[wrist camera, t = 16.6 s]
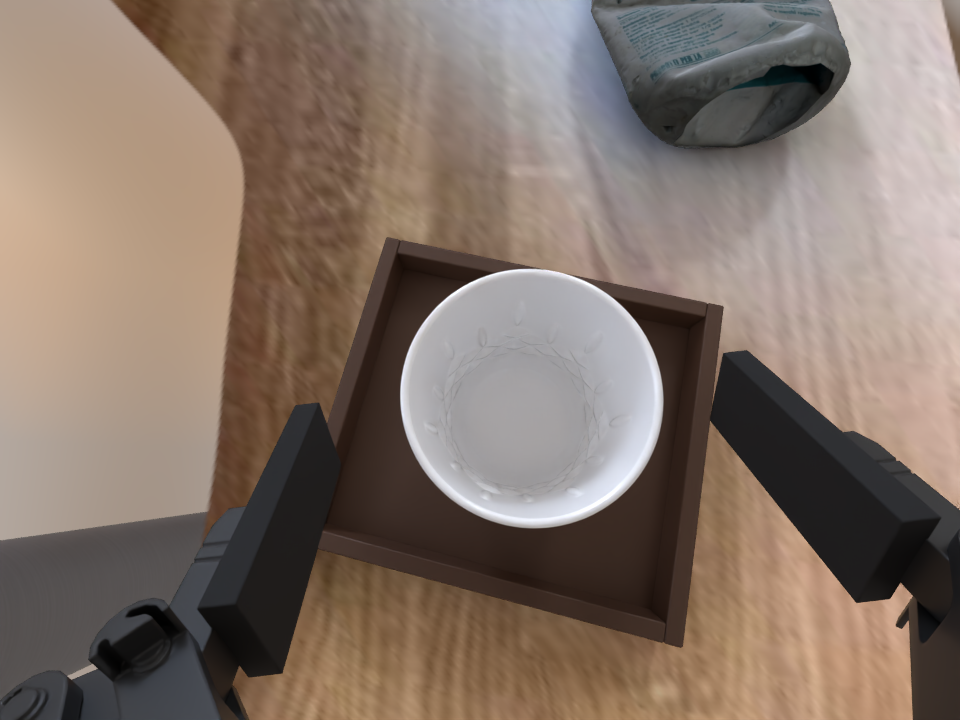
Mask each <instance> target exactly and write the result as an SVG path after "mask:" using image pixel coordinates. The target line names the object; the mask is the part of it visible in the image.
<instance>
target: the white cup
mask: <svg viewBox="0 0 960 720" xmlns="http://www.w3.org/2000/svg"><path fill="white" fill-rule="evenodd" d="M400 404H401V414H402V420H403V425H404V429H405V432H406V435H407V438H408V441H409V444H410V446H411V449H412V451H413V453H414V455H415V457H416V459H417V460H418V462H419V464H420V465H421V467H422V468H423V470H424V471H425V473H426V474H427V475H428V477H429V478H430V479H431V480H432V482H433V483H434V484H435V485H436V486H437V487H438V488H439V489H440V490H441V491H442V492H443V493H444V494H445V495H447V496H448V497H449V498H450V499H451V500H453V501H454V502H455V503H457V504H458V505H460V506H461V507H463V508H464V509H466V510H468V511H470V512H471V513H473V514H475V515H477V516H480V517H482V518H484V519H487V520H490V521H492V522H496V523H499V524H503V525H507V526H513V527H520V528H549V527H557V526H562V525H566V524H570V523H573V522H577V521H579V520H582V519H585V518H587V517H589V516H591V515H593V514H595V513H597V512H599V511H601V510H602V509H604V508H606V507H607V506H609V505H610V504H612V503H613V502H614V501H615V500H617V499H618V498H619V497H620V496H621V495H623V494H624V493H625V492H626V491H627V490H628V489H629V488H630V487H631V485H632V484H633V483H634V482H635V481H636V479H637V478H638V477H639V475H640V474H641V473H642V471H643V470H644V468H645V466H646V465H647V463H648V461H649V459H650V457H651V455H652V453H653V451H654V448H655V446H656V443H657V440H658V436H659V433H660V428H661V423H662V416H663V386H662V379H661V374H660V370H659V366H658V363H657V360H656V357H655V354H654V352H653V350H652V347H651V345H650V343H649V341H648V339H647V338H646V336H645V334H644V332H643V331H642V329H641V328H640V326H639V325H638V324H637V322H636V321H635V320H634V319H633V317H632V316H631V315H630V314H629V313H628V312H627V311H626V310H625V309H624V308H623V307H622V306H621V305H620V304H619V303H618V302H617V301H616V300H614V299H613V298H612V297H611V296H609V295H608V294H607V293H605V292H604V291H602V290H600V289H599V288H597V287H595V286H594V285H592V284H590V283H588V282H586V281H584V280H581V279H579V278H576V277H573V276H570V275H567V274H564V273H560V272H555V271H549V270H541V269H517V270H508V271H503V272H498V273H494V274H491V275H488V276H485V277H482V278H479V279H477V280H475V281H473V282H471V283H469V284H467V285H465V286H463V287H461V288H460V289H458V290H457V291H455V292H454V293H452V294H451V295H450V296H448V297H447V298H446V299H445V300H444V301H442V302H441V303H440V304H439V305H438V306H437V307H436V308H435V309H434V310H433V311H432V313H431V314H430V315H429V316H428V317H427V319H426V320H425V321H424V323H423V324H422V326H421V327H420V329H419V330H418V332H417V334H416V335H415V337H414V339H413V341H412V343H411V346H410V348H409V351H408V353H407V356H406V360H405V363H404V367H403V372H402V378H401V387H400Z"/></svg>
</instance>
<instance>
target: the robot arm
mask: <svg viewBox="0 0 960 720" xmlns="http://www.w3.org/2000/svg"><path fill="white" fill-rule="evenodd" d="M710 421H711V422H712V424H713V425H714V426H715V427H716V429H717V430H718V431H719V432H720V434H721V435H722V436H723V437H724V439H725V440H726V441H727V442H728V443H729V445H730V446H731V447H732V448H733V450H734V451H735V452H736V453H737V455H738V456H739V457H740V458H741V460H742V461H743V462H744V463H745V465H746V466H747V467H748V468H749V470H750V471H751V472H752V473H753V475H754V476H755V477H756V478H757V480H758V481H759V482H760V483H761V485H762V486H763V487H764V488H765V490H766V491H767V492H768V493H769V495H770V496H771V497H772V498H773V500H774V501H775V502H776V503H777V505H778V506H779V507H780V508H781V510H782V511H783V512H784V513H785V515H786V516H787V517H788V518H789V519H790V521H791V522H792V523H793V524H794V526H795V527H796V528H797V529H798V531H799V532H800V533H801V534H802V536H803V537H804V538H805V539H806V541H807V542H808V543H809V544H810V546H811V547H812V548H813V549H814V551H815V552H816V553H817V554H818V556H819V557H820V558H821V559H822V561H823V562H824V563H825V564H826V566H827V567H828V568H829V569H830V571H831V572H832V573H833V574H834V576H835V577H836V578H837V579H838V581H839V582H840V583H841V584H842V586H843V587H844V588H845V589H846V591H847V592H848V593H849V594H850V595H851V597H852V598H853V599H854V600H855V602H856V603H861V602H869V601H877V600H885V599H890V598H891V597H892V595H893V593H894V592H895V590H896V589H897V587H898V586H899V584H900V582H901V583H902V584H903V585H904V587H905V588H906V589H907V590H908V591H909V592H910V593H911V594H912V595H913V597H912V599H911V600H910V602H909V603H908V605H907V606H906V607H905V609H904V610H903V612H902V613H901V615H900V616H899V618H898V620H897V623H896V627H899V628H901V629H902V628H903V627H904V625H905V624H906V622H907V621H908V620H909V632H910V658H911V683H912V709H913V720H960V510H959V509H958V508H956V507H955V506H954V505H953V504H952V503H950V502H949V501H948V500H947V499H945V498H944V497H943V496H942V495H940V494H939V493H938V492H937V491H936V490H934V489H933V488H932V487H931V486H929V485H928V484H927V483H926V482H925V481H923V480H922V479H921V478H920V477H918V476H917V475H916V474H915V473H914V474H912V473H911V470H910V469H909V468H907V467H906V466H905V465H904V464H902V463H901V462H900V461H896V458H895V457H894V456H893V455H891V454H890V453H889V452H888V451H886V450H885V449H884V448H883V447H882V446H880V445H879V444H878V443H876V442H874V441H872V440H870V439H868V438H866V437H864V436H862V435H860V434H859V433H857V432H855V431H850V432H842V431H841V430H839V429H838V428H837V427H836V426H835V425H834V424H832V423H831V422H830V421H829V420H828V419H827V418H825V417H824V416H823V415H822V414H821V413H820V412H818V411H817V410H816V409H815V408H814V407H813V406H811V405H810V404H809V403H808V402H807V401H806V400H804V399H803V398H802V397H801V396H800V395H799V394H797V393H796V392H795V391H794V390H793V389H792V388H790V387H789V386H788V385H787V384H786V383H785V382H783V381H782V380H781V379H780V378H779V377H778V376H776V375H775V374H774V373H773V372H772V371H771V370H769V369H768V368H767V367H766V366H765V365H764V364H762V363H761V362H760V361H759V360H758V359H757V358H755V357H754V356H753V355H752V354H751V353H750V352H748V351H747V350H744V351H736V352H728V353H723V357H722V362H721V367H720V372H719V377H718V381H717V386H716V391H715V396H714V401H713V406H712V411H711V416H710ZM340 468H341V462H340V459H339V457H338V454H337V451H336V448H335V446H334V443H333V440H332V437H331V435H330V432H329V429H328V426H327V423H326V421H325V418H324V415H323V412H322V410H321V407H320V404H319V403H311V404H303V405H295V407H294V409H293V411H292V413H291V415H290V417H289V420H288V422H287V424H286V426H285V428H284V430H283V432H282V434H281V436H280V438H279V440H278V442H277V444H276V446H275V448H274V450H273V452H272V455H271V457H270V459H269V461H268V463H267V465H266V467H265V469H264V471H263V473H262V475H261V477H260V479H259V481H258V483H257V485H256V487H255V490H254V492H253V494H252V496H251V498H250V500H249V502H248V504H247V506H246V507H238V508H230V509H228V510H227V511H226V512H225V513H224V514H223V515H222V516H221V517H220V518H219V519H218V520H217V521H216V522H215V524H214V525H213V526H212V527H211V529H210V531H209V533H208V535H207V537H206V539H205V540H204V542H203V547H202V548H200V550H199V551H198V553H197V555H196V557H195V559H194V560H195V562H194V563H192V564H191V566H190V568H189V570H188V572H187V574H186V575H185V577H184V579H183V581H182V583H181V585H180V587H179V588H178V590H177V592H176V594H175V596H174V598H173V599H172V601H171V603H170V605H169V606H168V605H167V604H166V602H165V601H164V600H161V599H156V598H150V599H146V600H141V601H138V602H136V603H134V604H132V605H130V606H128V607H126V608H124V609H123V610H122V611H120V612H119V613H118V614H117V615H115V616H114V617H113V618H111V619H110V620H109V621H108V622H107V623H106V625H105V626H104V627H103V628H102V629H101V630H100V631H99V632H98V634H97V636H96V637H95V639H94V641H93V643H92V645H91V647H90V652H89V659H88V660H89V661H90V662H91V663H92V664H94V665H95V666H96V667H97V668H98V669H96V670H94V671H92V672H89V673H87V674H85V675H82V676H80V677H77V678H75V679H73V680H71V679H69V678H68V677H67V676H66V675H65V674H64V673H62V672H61V671H46V672H43V673H40V674H37V675H35V676H32V677H31V678H29V679H28V680H26V681H24V682H23V683H21V684H19V685H18V686H16V687H15V688H14V689H13V690H12V691H10V692H9V693H8V694H7V695H6V696H5V697H4V698H2V699H1V700H0V720H249V718H248V715H247V713H246V711H245V708H244V706H243V703H242V701H241V699H240V696H239V694H238V692H237V689H236V688H235V687H234V686H233V685H232V684H233V681H234V678H235V675H236V672H237V670H238V667H239V665H240V667H241V668H242V669H243V671H244V672H245V673H246V674H247V676H248V677H257V676H265V675H273V674H281V673H283V669H284V666H285V662H286V659H287V655H288V652H289V648H290V645H291V641H292V638H293V634H294V630H295V627H296V623H297V620H298V616H299V613H300V609H301V606H302V602H303V599H304V595H305V592H306V588H307V585H308V581H309V578H310V574H311V571H312V567H313V564H314V560H315V557H316V553H317V549H318V546H319V542H320V539H321V535H322V532H323V528H324V525H325V521H326V518H327V514H328V511H329V507H330V504H331V500H332V497H333V493H334V490H335V486H336V483H337V479H338V475H339V472H340Z"/></svg>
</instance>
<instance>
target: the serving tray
mask: <svg viewBox="0 0 960 720" xmlns="http://www.w3.org/2000/svg"><path fill="white" fill-rule="evenodd" d="M517 269H539V268H535V267H530V266H525V265H520V264H515V263H510V262H505V261H500V260H495V259H491V258H486V257H481V256H476V255H471V254H466V253H461V252H456V251H452V250H447V249H442V248H437V247H432V246H427V245H422V244H417V243H413V242H408V241H403V240H401V241H400V240H398V239H393V238H388V237H387V238H386V240H385V244H384V247H383V250H382V253H381V256H380V259H379V262H378V266H377V269H376V272H375V275H374V278H373V281H372V284H371V288H370V291H369V294H368V297H367V300H366V303H365V306H364V310H363V313H362V316H361V319H360V322H359V325H358V328H357V332H356V335H355V338H354V341H353V344H352V347H351V350H350V354H349V357H348V360H347V363H346V366H345V369H344V372H343V376H342V379H341V382H340V385H339V388H338V391H337V394H336V397H335V401H334V404H333V407H332V410H331V413H330V416H329V419H328V423H327V426H328V429H329V432H330V435H331V437H332V440H333V443H334V446H335V448H336V451H337V454H338V457H339V459H340V462H341V468H340V472H339V475H338V479H337V483H336V486H335V490H334V493H333V497H332V500H331V504H330V507H329V511H328V514H327V518H326V521H325V525H324V528H323V532H322V535H321V539H320V542H319V546H318V549H320V550H323V551H327V552H331V553H334V554H338V555H342V556H345V557H349V558H353V559H356V560H360V561H364V562H367V563H371V564H375V565H378V566H382V567H386V568H389V569H393V570H397V571H401V572H404V573H408V574H412V575H415V576H419V577H423V578H426V579H430V580H434V581H437V582H441V583H445V584H448V585H452V586H456V587H459V588H463V589H467V590H470V591H474V592H478V593H481V594H485V595H489V596H492V597H496V598H500V599H503V600H507V601H511V602H514V603H518V604H522V605H525V606H529V607H533V608H536V609H540V610H544V611H547V612H551V613H555V614H558V615H562V616H566V617H569V618H573V619H577V620H580V621H584V622H588V623H591V624H595V625H599V626H602V627H606V628H610V629H613V630H617V631H621V632H624V633H628V634H632V635H635V636H639V637H643V638H646V639H650V640H654V641H657V642H661V643H662V642H664V643H665V644H669V645H672V646H676V647H680V648H681V647H683V640H684V632H685V624H686V615H687V607H688V599H689V590H690V582H691V574H692V565H693V557H694V549H695V540H696V532H697V523H698V515H699V507H700V498H701V490H702V482H703V473H704V465H705V457H706V448H707V440H708V432H709V423H710V415H711V407H712V398H713V390H714V382H715V373H716V365H717V357H718V348H719V340H720V332H721V323H722V315H723V306H720V305H715V304H710V303H708V304H707V303H705V302H700V301H696V300H691V299H686V298H681V297H676V296H671V295H666V294H661V293H656V292H652V291H647V290H642V289H637V288H632V287H627V286H622V285H617V284H613V283H608V282H603V281H598V280H593V279H588V278H583V277H578V276H574V275H570V276H573V277H576V278H579V279H581V280H584V281H586V282H588V283H590V284H592V285H594V286H595V287H597V288H599V289H600V290H602V291H604V292H605V293H607V294H608V295H609V296H611V297H612V298H613V299H614V300H616V301H617V302H618V303H619V304H620V305H621V306H622V307H623V308H624V309H625V310H626V311H627V312H628V313H629V314H630V315H631V316H632V317H633V319H634V320H635V321H636V322H637V324H638V325H639V326H640V328H641V329H642V331H643V332H644V334H645V336H646V338H647V339H648V341H649V343H650V345H651V347H652V350H653V352H654V354H655V357H656V360H657V363H658V366H659V370H660V374H661V379H662V386H663V416H662V423H661V428H660V433H659V436H658V440H657V443H656V446H655V448H654V451H653V453H652V455H651V457H650V459H649V461H648V463H647V465H646V466H645V468H644V470H643V471H642V473H641V474H640V475H639V477H638V478H637V479H636V481H635V482H634V483H633V484H632V485H631V487H630V488H629V489H628V490H627V491H626V492H625V493H624V494H623V495H621V496H620V497H619V498H618V499H617V500H615V501H614V502H613V503H612V504H610V505H609V506H607V507H606V508H604V509H602V510H601V511H599V512H597V513H595V514H593V515H591V516H589V517H587V518H585V519H582V520H579V521H577V522H573V523H570V524H566V525H562V526H557V527H549V528H520V527H513V526H507V525H503V524H499V523H496V522H492V521H490V520H487V519H484V518H482V517H480V516H477V515H475V514H473V513H471V512H470V511H468V510H466V509H464V508H463V507H461V506H460V505H458V504H457V503H455V502H454V501H453V500H451V499H450V498H449V497H448V496H447V495H445V494H444V493H443V492H442V491H441V490H440V489H439V488H438V487H437V486H436V485H435V484H434V483H433V482H432V480H431V479H430V478H429V477H428V475H427V474H426V473H425V471H424V470H423V468H422V467H421V465H420V464H419V462H418V460H417V459H416V457H415V455H414V453H413V451H412V449H411V446H410V444H409V441H408V438H407V435H406V432H405V429H404V425H403V420H402V414H401V404H400V387H401V378H402V372H403V367H404V363H405V360H406V356H407V353H408V351H409V348H410V346H411V343H412V341H413V339H414V337H415V335H416V334H417V332H418V330H419V329H420V327H421V326H422V324H423V323H424V321H425V320H426V319H427V317H428V316H429V315H430V314H431V313H432V311H433V310H434V309H435V308H436V307H437V306H438V305H439V304H440V303H441V302H442V301H444V300H445V299H446V298H447V297H448V296H450V295H451V294H452V293H454V292H455V291H457V290H458V289H460V288H461V287H463V286H465V285H467V284H469V283H471V282H473V281H475V280H477V279H479V278H482V277H485V276H488V275H491V274H494V273H498V272H503V271H508V270H517ZM541 270H544V269H541ZM567 275H569V274H567Z"/></svg>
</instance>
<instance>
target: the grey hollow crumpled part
mask: <svg viewBox="0 0 960 720" xmlns="http://www.w3.org/2000/svg"><path fill="white" fill-rule="evenodd" d="M591 12H592V16H593V18H594V20H595V22H596V24H597V26H598V28H599V30H600V33H601V35H602V38H603V40H604V42H605V44H606V46H607V49H608V51H609V53H610V55H611V58H612V60H613V62H614V64H615V67H616V69H617V71H618V74H619V76H620V78H621V80H622V83H623V85H624V88H625V90H626V93H627V96H628V98H629V102H630V104H631V105H632V108H633V109H634V111H635V112H636V114H637V115H638V117H639V118H640V120H641V121H642V122H643V124H644V125H645V126H646V127H647V128H648V129H649V130H650V131H651V132H652V133H653V134H654V135H655V136H657V137H658V138H659V139H660V140H662V141H664V142H666V143H667V144H670V145H673V146H676V147H684V148H705V147H739V146H745V145H750V144H754V143H758V142H762V141H766V140H770V139H774V138H776V137H777V136H780V135H782V134H785V133H787V132H789V131H790V130H793V129H795V128H797V127H799V126H800V125H802V124H804V123H805V122H807V121H808V120H809V119H811V118H812V117H814V116H815V115H816V114H818V113H819V112H820V111H821V110H822V109H823V108H824V107H825V106H826V105H827V104H828V103H829V102H830V101H831V100H832V99H833V98H834V97H835V95H836V94H837V92H838V91H839V89H840V88H841V86H842V85H843V83H844V82H845V80H846V78H847V75H848V73H849V68H850V65H851V62H850V58H849V54H848V50H847V47H846V46H845V41H844V39H843V37H842V35H841V32H840V30H839V26H838V22H837V19H836V16H835V13H834V10H833V8H832V5H831V3H830V2H829V0H592V9H591Z"/></svg>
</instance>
